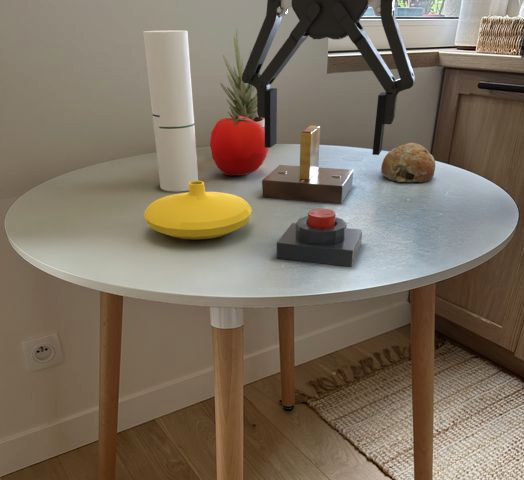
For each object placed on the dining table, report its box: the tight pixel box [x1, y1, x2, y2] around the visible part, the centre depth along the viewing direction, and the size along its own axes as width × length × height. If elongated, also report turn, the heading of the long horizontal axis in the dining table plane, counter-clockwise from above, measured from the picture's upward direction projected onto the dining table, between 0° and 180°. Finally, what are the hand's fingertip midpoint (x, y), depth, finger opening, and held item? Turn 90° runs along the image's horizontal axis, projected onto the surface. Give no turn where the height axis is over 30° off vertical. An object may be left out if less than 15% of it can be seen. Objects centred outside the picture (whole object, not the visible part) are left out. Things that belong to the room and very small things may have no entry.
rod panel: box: [261, 164, 354, 205], centre depth 97 cm, size 14×11×3 cm
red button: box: [307, 208, 337, 229], centre depth 71 cm, size 4×4×2 cm
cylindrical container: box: [142, 29, 199, 193], centre depth 95 cm, size 7×7×25 cm
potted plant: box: [220, 27, 265, 128], centre depth 116 cm, size 10×10×25 cm
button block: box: [276, 215, 363, 267], centre depth 73 cm, size 10×8×4 cm
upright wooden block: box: [299, 125, 321, 180], centre depth 94 cm, size 7×2×8 cm, turn 163°
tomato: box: [209, 111, 270, 176], centre depth 105 cm, size 12×12×11 cm
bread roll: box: [380, 142, 436, 183], centre depth 104 cm, size 10×10×8 cm
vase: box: [143, 180, 253, 241], centre depth 79 cm, size 16×16×7 cm
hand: (322, 149), depth 68 cm, fingers open, 13 cm apart
